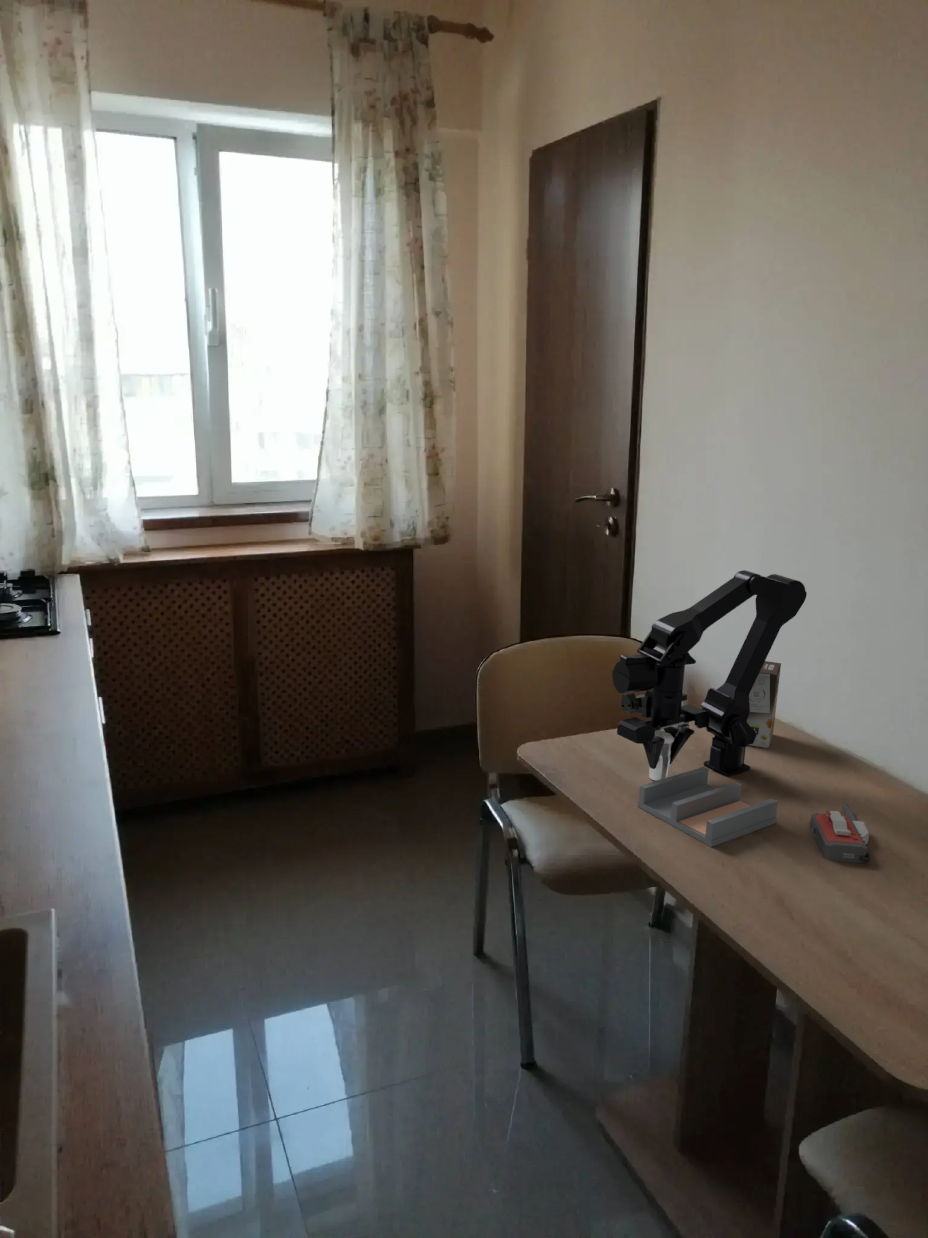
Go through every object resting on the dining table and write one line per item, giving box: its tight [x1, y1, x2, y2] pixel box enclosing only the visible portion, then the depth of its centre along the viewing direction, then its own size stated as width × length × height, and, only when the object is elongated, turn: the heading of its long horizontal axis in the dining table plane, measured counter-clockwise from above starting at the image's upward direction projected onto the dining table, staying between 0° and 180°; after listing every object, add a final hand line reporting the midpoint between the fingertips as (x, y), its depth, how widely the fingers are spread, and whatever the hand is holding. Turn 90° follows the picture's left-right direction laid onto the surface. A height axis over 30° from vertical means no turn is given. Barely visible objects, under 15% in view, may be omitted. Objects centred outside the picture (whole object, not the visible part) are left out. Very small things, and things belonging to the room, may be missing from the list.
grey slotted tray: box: [637, 766, 778, 848], centre depth 160 cm, size 16×17×4 cm
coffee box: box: [747, 660, 782, 749], centre depth 193 cm, size 9×6×16 cm
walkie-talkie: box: [809, 803, 872, 864], centre depth 153 cm, size 9×4×20 cm
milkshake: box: [648, 730, 680, 782], centre depth 173 cm, size 4×5×10 cm
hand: (660, 766), depth 174 cm, fingers closed on milkshake, 4 cm apart
